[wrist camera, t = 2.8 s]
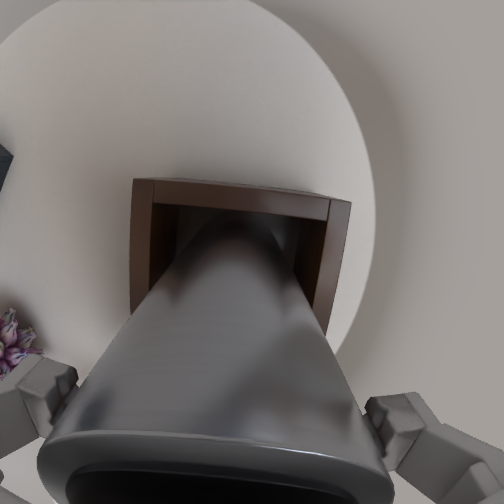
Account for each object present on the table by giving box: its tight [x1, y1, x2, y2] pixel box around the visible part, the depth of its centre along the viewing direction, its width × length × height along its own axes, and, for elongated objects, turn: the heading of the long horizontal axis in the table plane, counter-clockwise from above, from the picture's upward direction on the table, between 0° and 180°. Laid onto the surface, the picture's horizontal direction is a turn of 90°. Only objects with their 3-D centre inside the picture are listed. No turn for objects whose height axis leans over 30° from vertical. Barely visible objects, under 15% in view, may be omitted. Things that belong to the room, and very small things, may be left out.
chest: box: [129, 178, 351, 336], centre depth 20 cm, size 14×11×8 cm
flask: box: [37, 211, 395, 504], centre depth 13 cm, size 6×6×20 cm
